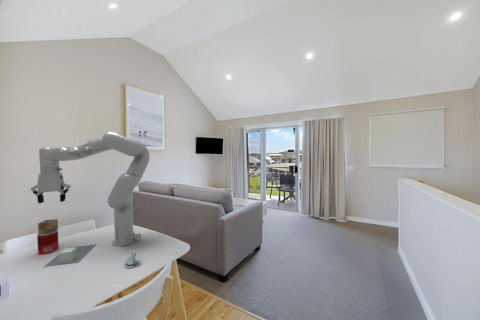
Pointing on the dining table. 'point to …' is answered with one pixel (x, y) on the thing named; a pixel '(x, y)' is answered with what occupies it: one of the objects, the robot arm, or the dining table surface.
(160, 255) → the dining table surface
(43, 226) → the walnut block
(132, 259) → the pacifier
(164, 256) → the dining table surface
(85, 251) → the mat
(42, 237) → the canned food
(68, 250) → the sage block
